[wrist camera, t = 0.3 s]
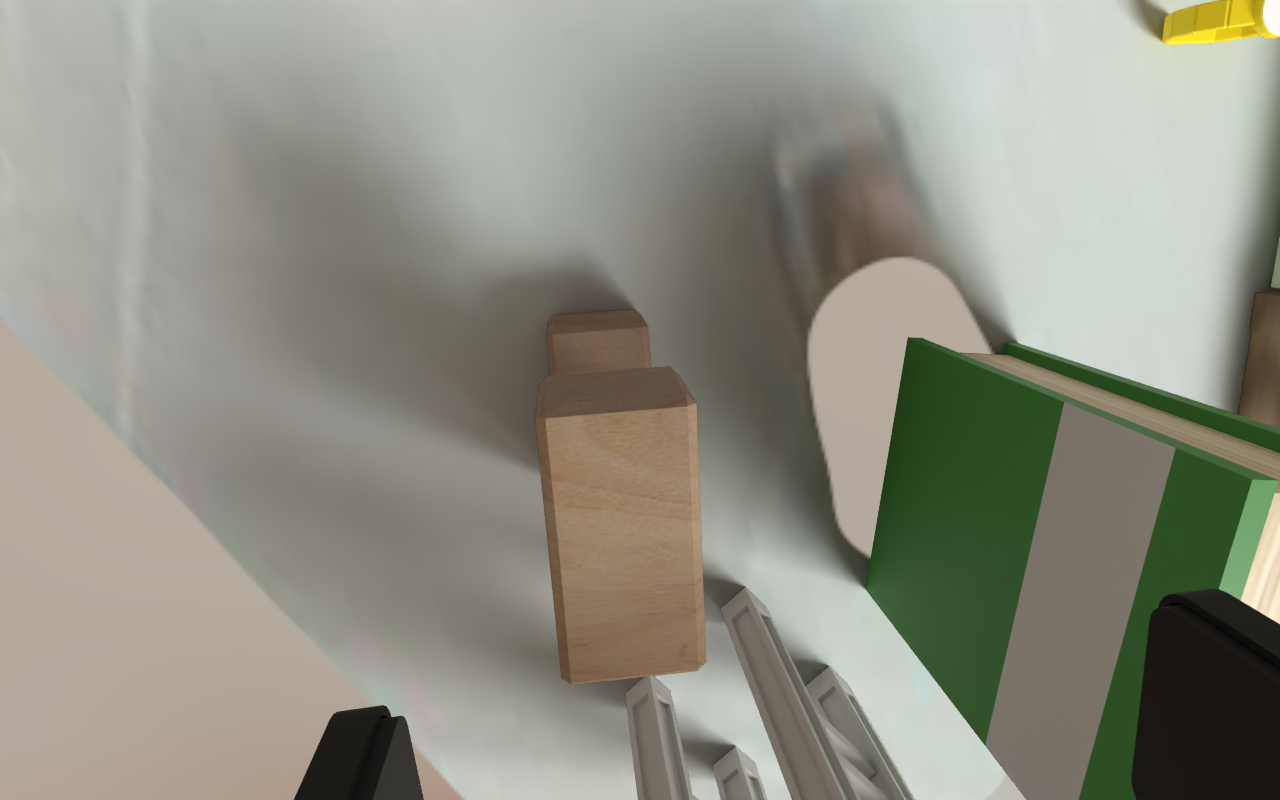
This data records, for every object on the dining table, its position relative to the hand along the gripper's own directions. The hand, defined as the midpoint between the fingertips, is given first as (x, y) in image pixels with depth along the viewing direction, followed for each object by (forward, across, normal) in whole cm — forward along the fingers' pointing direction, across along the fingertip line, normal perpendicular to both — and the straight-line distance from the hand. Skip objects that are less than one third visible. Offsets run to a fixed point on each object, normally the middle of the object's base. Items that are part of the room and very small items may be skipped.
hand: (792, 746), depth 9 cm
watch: (+36, -35, -13) cm, 52 cm away
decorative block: (+36, +1, +5) cm, 37 cm away
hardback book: (+36, -20, +13) cm, 44 cm away
